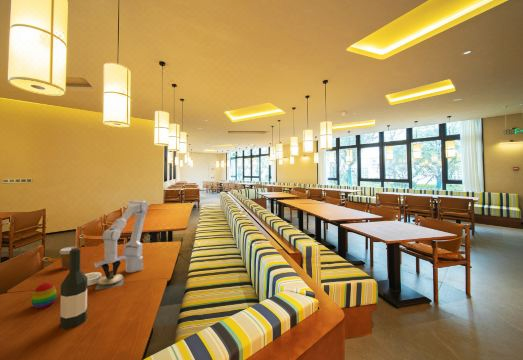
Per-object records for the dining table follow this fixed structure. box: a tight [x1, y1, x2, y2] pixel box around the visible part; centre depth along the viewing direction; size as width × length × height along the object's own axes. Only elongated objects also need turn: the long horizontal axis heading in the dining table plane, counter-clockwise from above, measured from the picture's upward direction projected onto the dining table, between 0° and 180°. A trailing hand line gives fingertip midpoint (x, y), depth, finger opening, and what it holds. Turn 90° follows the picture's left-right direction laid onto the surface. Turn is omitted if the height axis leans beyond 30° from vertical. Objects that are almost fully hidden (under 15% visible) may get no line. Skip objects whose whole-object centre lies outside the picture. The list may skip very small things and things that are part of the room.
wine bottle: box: [59, 246, 88, 330], centre depth 89 cm, size 8×8×30 cm
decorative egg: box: [31, 282, 58, 309], centre depth 101 cm, size 8×8×10 cm
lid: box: [98, 270, 124, 285], centre depth 121 cm, size 11×11×4 cm
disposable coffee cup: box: [58, 246, 76, 270], centre depth 142 cm, size 10×10×12 cm
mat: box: [94, 275, 125, 291], centre depth 121 cm, size 12×12×1 cm
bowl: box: [84, 271, 103, 287], centre depth 122 cm, size 10×10×4 cm
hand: (110, 276), depth 121 cm, fingers closed on lid, 3 cm apart
